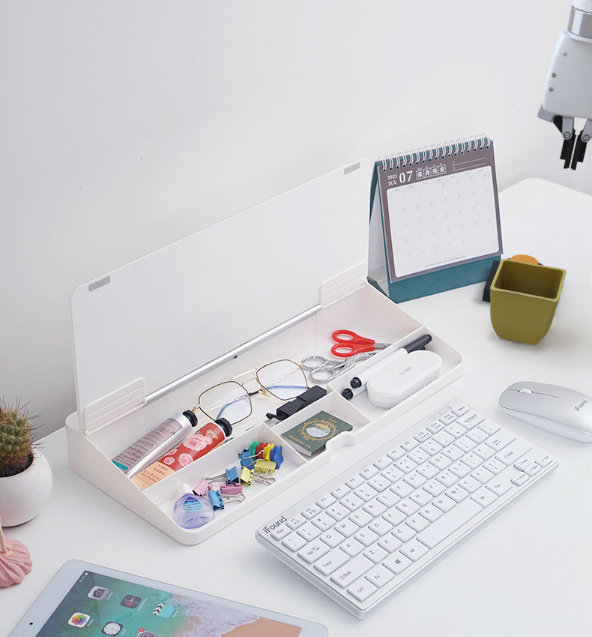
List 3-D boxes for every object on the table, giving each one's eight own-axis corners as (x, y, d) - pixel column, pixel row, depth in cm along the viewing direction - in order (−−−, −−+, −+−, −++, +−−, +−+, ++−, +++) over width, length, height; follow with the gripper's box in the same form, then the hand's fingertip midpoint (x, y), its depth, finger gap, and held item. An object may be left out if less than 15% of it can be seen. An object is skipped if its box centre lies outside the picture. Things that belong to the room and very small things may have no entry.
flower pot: (480, 343, 109) (489, 287, 104) (493, 310, 116) (502, 256, 111) (546, 358, 106) (558, 301, 101) (555, 323, 113) (567, 269, 108)
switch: (554, 283, 122) (558, 260, 120) (547, 313, 115) (552, 289, 113) (491, 271, 125) (495, 249, 123) (481, 300, 118) (485, 277, 116)
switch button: (537, 267, 119) (539, 257, 118) (534, 280, 116) (536, 269, 115) (510, 262, 120) (512, 252, 119) (506, 275, 117) (508, 264, 116)
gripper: (667, 21, 96) (630, 163, 107) (541, 10, 101) (517, 146, 111) (667, 38, 91) (628, 186, 101) (533, 25, 95) (509, 168, 106)
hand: (570, 165), depth 106 cm, fingers closed
